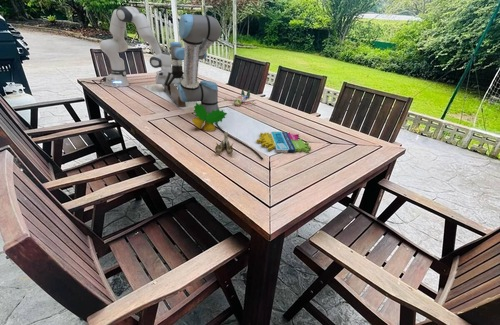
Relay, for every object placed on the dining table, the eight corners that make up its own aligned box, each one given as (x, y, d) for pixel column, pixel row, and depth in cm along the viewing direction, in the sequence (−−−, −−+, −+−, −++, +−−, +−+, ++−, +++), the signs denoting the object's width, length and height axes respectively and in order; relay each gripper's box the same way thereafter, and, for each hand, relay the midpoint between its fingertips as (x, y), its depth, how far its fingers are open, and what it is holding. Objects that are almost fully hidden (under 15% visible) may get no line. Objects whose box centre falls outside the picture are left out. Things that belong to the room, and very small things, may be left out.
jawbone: (234, 135, 144) (233, 125, 135) (233, 160, 138) (232, 151, 129) (217, 135, 144) (216, 125, 135) (216, 160, 138) (214, 150, 129)
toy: (261, 91, 228) (254, 99, 202) (261, 99, 231) (253, 108, 205) (231, 87, 233) (220, 95, 207) (230, 95, 236) (219, 104, 210)
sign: (313, 150, 142) (258, 149, 139) (312, 153, 143) (258, 152, 140) (301, 132, 164) (254, 130, 161) (301, 134, 165) (254, 133, 162)
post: (185, 106, 200) (185, 96, 197) (178, 107, 198) (177, 97, 194) (170, 89, 241) (169, 80, 237) (163, 89, 238) (163, 81, 235)
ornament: (218, 133, 171) (224, 110, 169) (221, 134, 163) (227, 111, 161) (186, 125, 162) (192, 101, 160) (189, 126, 155) (195, 101, 153)
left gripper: (178, 71, 233) (179, 87, 239) (154, 72, 224) (156, 88, 231) (180, 73, 228) (181, 88, 235) (155, 73, 219) (157, 90, 226)
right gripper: (192, 63, 199) (193, 91, 210) (158, 64, 188) (161, 93, 199) (195, 65, 193) (196, 94, 204) (160, 66, 183) (163, 96, 193)
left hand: (168, 88), depth 233 cm, fingers closed on post, 5 cm apart
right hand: (178, 94), depth 202 cm, fingers open, 13 cm apart
